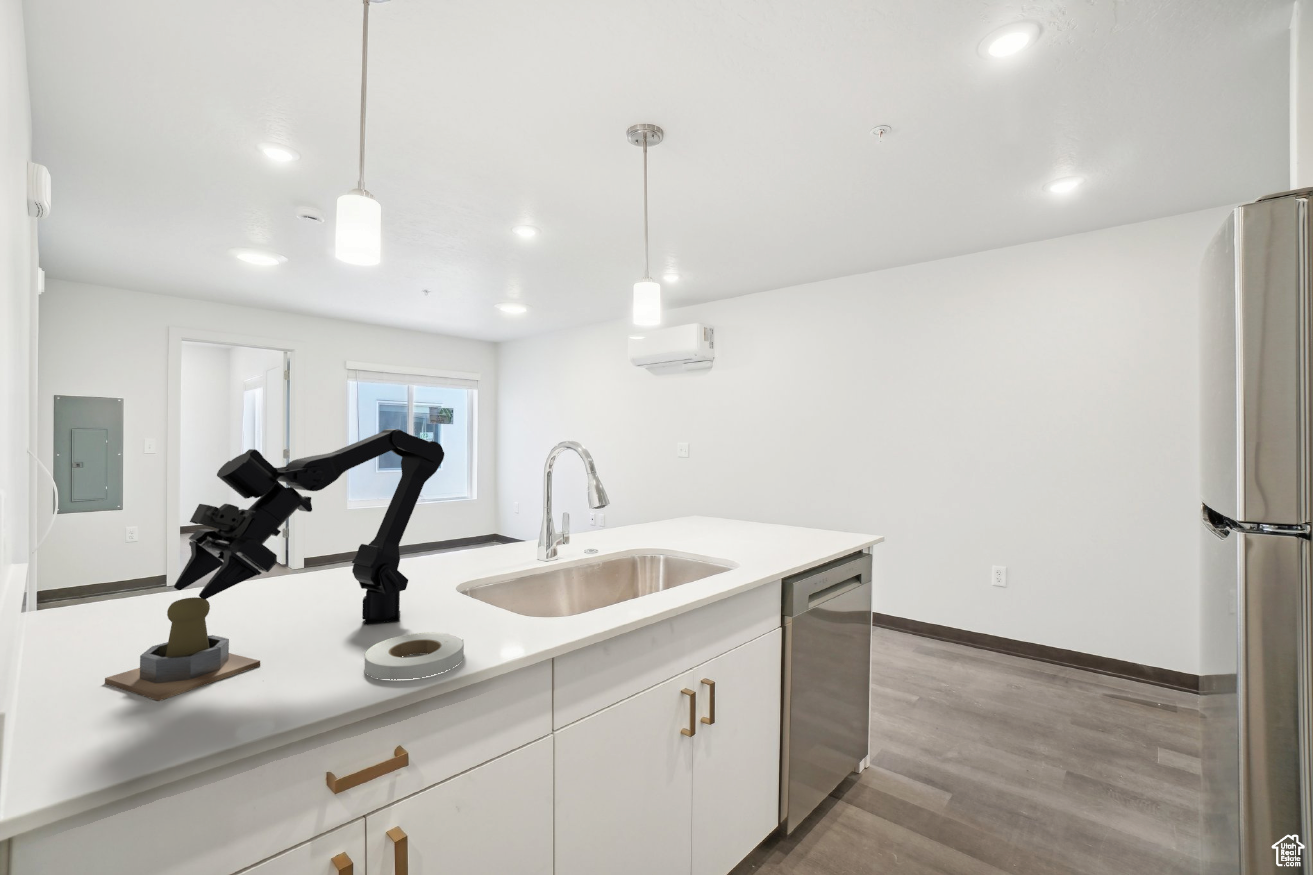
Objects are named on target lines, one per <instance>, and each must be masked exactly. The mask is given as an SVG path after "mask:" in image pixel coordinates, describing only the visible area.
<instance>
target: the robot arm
mask: <svg viewBox="0 0 1313 875" xmlns="http://www.w3.org/2000/svg"><path fill="white" fill-rule="evenodd" d="M388 452H392V453H394V454H395V456H399V457H401V461H400V467H401V477H400V479H399V482H398V484H397V486H396V489H395V492H394V494H393V496H392V498H391V500H390V503H389V504H388V508H387V510H386V512H385V514H384V517H383V519H382V522H381V524H380V525H379V528H378V530H377V533H376V534H375V535H376V536H374V538H373V540H371V541H370V542H369V543H368V544H365V543H361V544H360V545H359V547H358V548H357V549H358V550H357V553H356V555H355V557H354V559H353V560H351V563H352V564H353V566H352V570H351V571H352V572H351V573H352V574H353V577H354V579H355V580H356V581H358V583H359V586H360V589H363V590H364V589H365V590H366V591H365V595H364V597H363V599H362V617H361V618H362V620H364V621H363V624H364V625H373V624H382V623H384V624H385V623H394V622H395V623H396V622H400V619H401V618H400V617H401V610H400V609H401V608H400V605H401V604H400V602H401V600H400V599H401V598H400V597H401V596H400V594H401V592H403V591H406V590H407V586H408V583H409V579H408V578H407V577H406V576H405V575H404V574H403V573H402V572H401V571H399V565H400V562H401V554H400V553H401V552H400V543H401V541H402V539H403V536H404V535H405V534H404V533H405V531H406V528H407V527H408V524H409V521H410V518H411V517H412V514H413V512H414V510H415V507H416V505H417V502H418V500H419V497H420V495H421V492H422V490H423V488H424V485H425V483H426V482H427V481H428V480H429V479H430V478H431V477H432V476H434V475H435V473H437V471H438V469H439V467H440V466H441V464H442V462H444V459H445V458H444V457H445V451H444V449H443V447H442V445H441V444H440V443H439V442H438V441H433V440H432V441H431V440H426V439H423V438H420V437H417V436H414V435H412V434H410V433H407V432H406V431H404V430H401V429H399V428H385V429H383V430H382V431H380V432H378V433H376V434H373V435H371V436H369V437H366V438H364V439H362V440H360V441H356V442H354V443H351V444H349V445H346V446H344V447H341V448H339V449H336V450H334V451H331V452H328V453H323V454H318V455H317V454H316V455H311V456H306V457H301V458H297V459H294V460H292V461H290V462H288V463H287V464H286V465H285V466H280V467H275V466H273V465H272V464H271V463H270V462H269V461H268V460H267V459H265V457H264V456H263V455H262V453H261V452H260V451H259V450H257V449H256V448H255V449H253V448H252V449H251V448H249V449H247V451H245V452H244V453H242V454H239V455H238V456H236V457H234V458H232V459H231V460H228V461H227V462H225V463H224V465H222V466H221V467H220V469H218V471H217V473H216V477H217V478H219V479H220V480H221V481H222V482H224V483H225V484H226V485H227V486H229V487H230V488H231V489H232V490H233V491H235V492H236V493H238V494H239V496H240V497H242V498H243V499H245V500H246V499H250V498H253V499H257V500H256V501H255V502H254V503H253V504H251V506H250V507H248V508H247V509H244V508H242V509H240V507H239V506H237V505H233V504H230V503H224V504H222V505H221V506H220V507H217V506H213V505H210V504H204V503H199V504H198V505H197V507H196V509H195V511H194V513H192V514H193V515H192V517H191V518H190V520H189V523H192V524H195V525H201V526H206V527H209V528H202V529H201V528H200V529H197V530H196V531H194V532H193V534H191V536H189V537H188V540H190V541H189V542H188V545H189V546H190V551H191V555H190V557H189V559H188V560H187V563H186V565H185V566H184V568H183V569H182V572H181V573H180V574H179V576H178V578H177V580H176V582H175V583H174V585H173V588H174V589H175V590H176V591H182V590H184V589H186V588H188V587H189V586H190V585H193V584H194V583H196V582H197V581H198V580H200V579H201V580H202V578H203V577H205V576H207V575H209V574H210V573H212V572H214V571H215V570H217V571H216V572H215V573H214V575H213V576H212V577H211V578H210V579H209V581H207V583H206V584H205V586H204V587H203V589H202V590H201V591H200V593H198V598H202V599H206V600H207V599H209V598H211V597H213V596H215V595H217V594H219V593H221V592H223V591H226V590H228V589H230V588H231V587H232V588H233V587H234V586H236V585H238V584H240V583H242V582H244V581H246V580H249V579H251V578H253V577H256V576H260V575H261V574H262V572H264V573H269V572H270V571H271V570H272V569H273V567H275V566H276V564H277V563H278V555H277V554H276V553H275V552H274V551H272V550H271V549H269V548H268V547H267V546H265V545H264V544H265V543H266V541H268V540H269V539H270V537H272V536H273V537H278V535H280V533H281V532H282V531H281V530H280V529H279V528H280V527H281V526H282V525H283V524H284V523H285V522H286V521H287V520H288V519H289V518H290V517H291V516H292V514H294V513H295V512H296V511H297V510H299V511H301V512H306V513H311V512H313V506H312V497H311V496H308V495H307V496H303V495H302V494H300V492H298V491H297V490H299V491H306V492H307V491H308V492H319V491H322V490H324V489H325V488H326V487H328V486H330V485H331V484H332V483H334V482H335V481H337V480H338V479H339V478H340V477H341V476H342V475H343V474H344V473H345V472H347V471H349V470H351V469H353V468H356V467H357V466H360V465H362V464H364V463H366V462H369V461H371V460H373V459H375V458H377V457H379V456H382V455H384V454H386V453H388ZM281 482H282V483H286V485H287V487H286V486H285V485H283V484H281ZM210 527H211V528H214V529H215V530H214V529H210Z"/></svg>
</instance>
